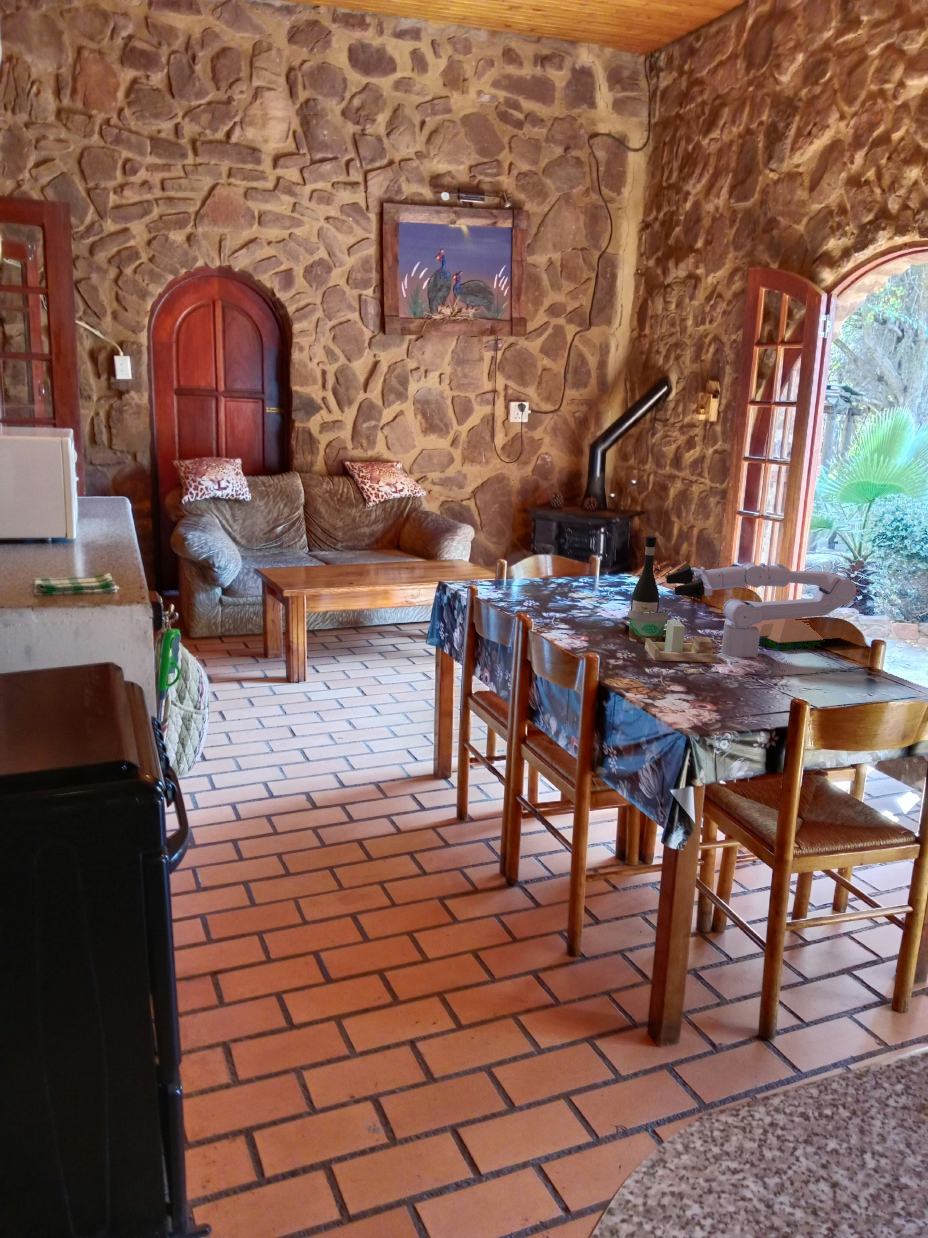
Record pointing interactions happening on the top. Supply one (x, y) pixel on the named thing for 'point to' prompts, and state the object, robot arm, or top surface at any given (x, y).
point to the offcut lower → (696, 650)
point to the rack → (658, 653)
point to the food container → (646, 625)
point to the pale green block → (674, 636)
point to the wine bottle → (646, 583)
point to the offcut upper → (703, 643)
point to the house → (786, 632)
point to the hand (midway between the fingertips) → (670, 585)
